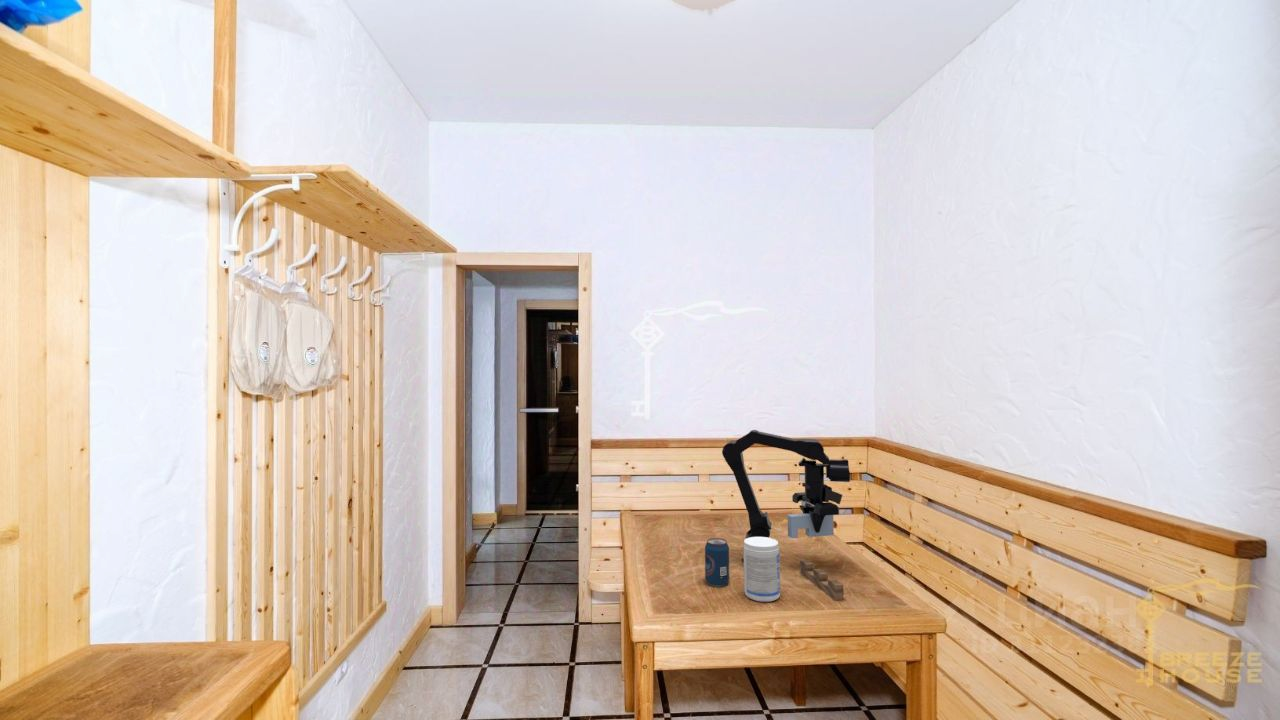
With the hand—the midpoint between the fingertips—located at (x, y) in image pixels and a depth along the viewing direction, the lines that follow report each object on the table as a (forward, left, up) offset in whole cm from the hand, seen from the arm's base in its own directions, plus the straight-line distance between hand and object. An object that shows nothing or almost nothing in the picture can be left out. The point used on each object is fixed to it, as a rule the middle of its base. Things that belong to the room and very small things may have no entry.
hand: (815, 531), depth 168 cm
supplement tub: (-25, -16, -12) cm, 31 cm away
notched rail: (-6, -13, -11) cm, 18 cm away
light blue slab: (-2, 0, -1) cm, 2 cm away
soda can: (-34, -5, -12) cm, 36 cm away
